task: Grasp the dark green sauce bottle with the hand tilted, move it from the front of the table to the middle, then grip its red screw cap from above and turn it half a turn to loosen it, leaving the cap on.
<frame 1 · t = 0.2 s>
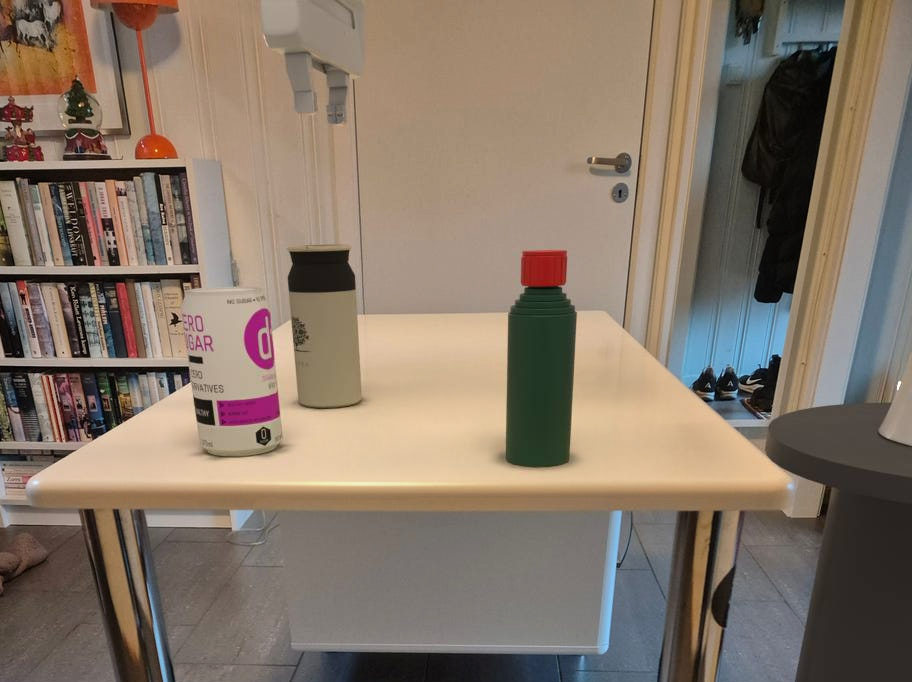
hand: (323, 119, 86), 30 cm above the table, tool pointing down, fingers open, 8 cm apart
cap: (544, 254, 73), point 18 cm above the table, screwed on, not yet turned
travel mug: (330, 404, 108), on the table
bottle: (537, 458, 81), on the table
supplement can: (242, 450, 87), on the table
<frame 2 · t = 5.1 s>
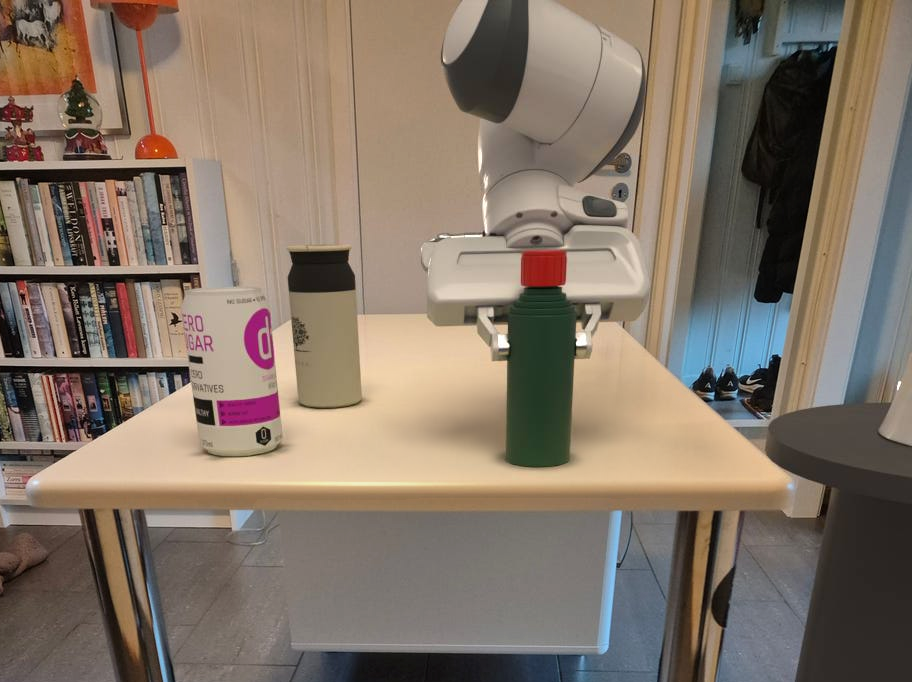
hand: (542, 356, 76), 9 cm above the table, tool tilted 45°, fingers closed on bottle, 6 cm apart
bottle: (537, 458, 81), on the table, touching gripper
everything else where it was.
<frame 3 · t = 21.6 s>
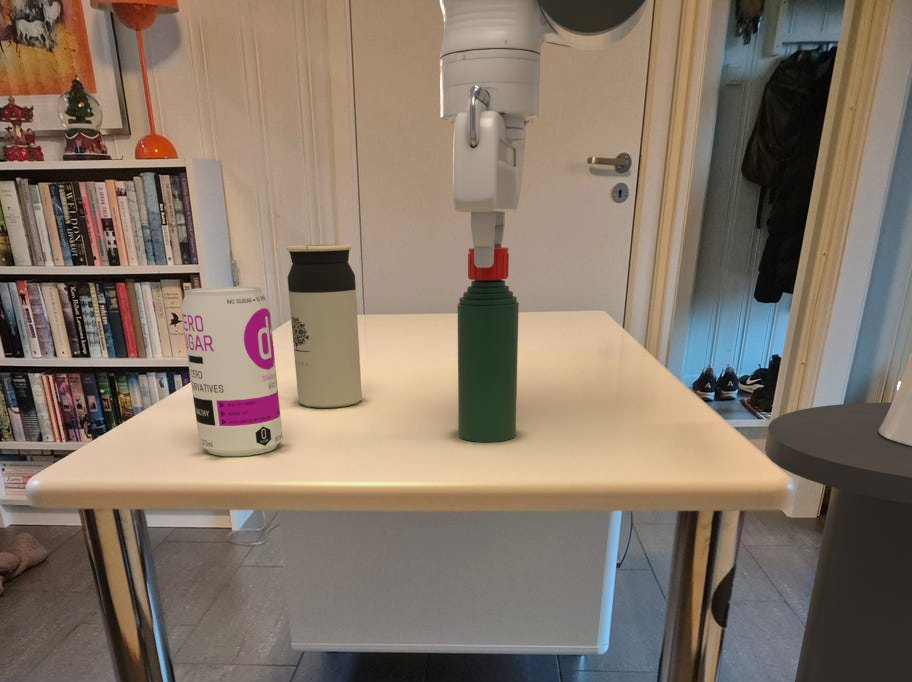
hand: (488, 266, 82), 16 cm above the table, tool pointing down, fingers closed on cap, 4 cm apart
cap: (488, 251, 82), point 18 cm above the table, screwed on, not yet turned, touching gripper
bottle: (487, 435, 90), on the table
everything else where it was.
when the fingers open (15 cm above the table, at t = 28.5 s): cap stays where it is, point 18 cm above the table.
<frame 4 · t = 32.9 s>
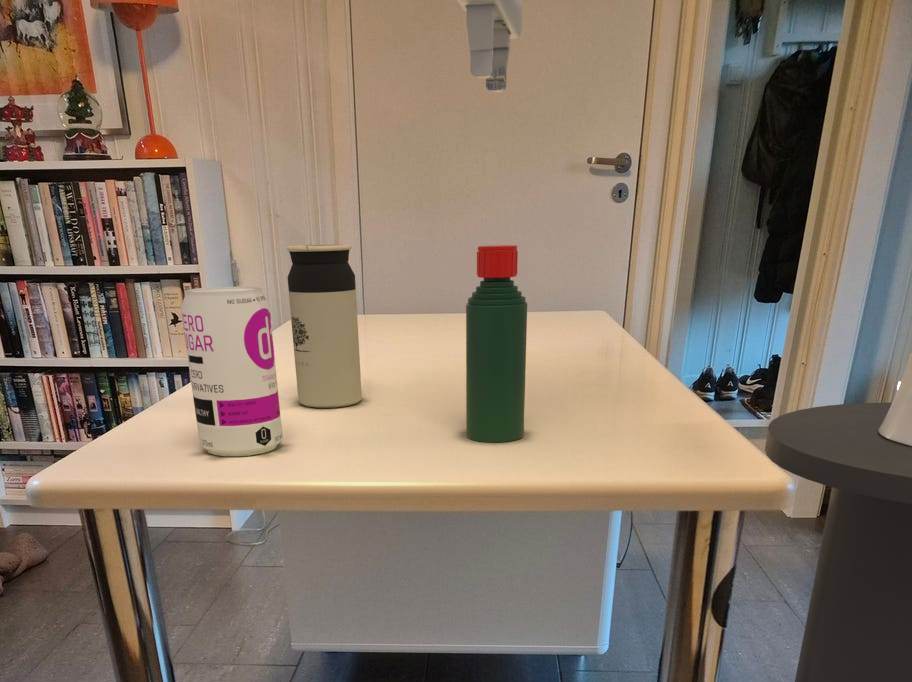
hand: (489, 84, 76), 31 cm above the table, tool pointing down, fingers open, 8 cm apart
cap: (497, 249, 81), point 18 cm above the table, turned 180° so far, risen 0.2 cm, still on its thread
everything else where it was.
at the end: cap turned 0.50 turns (still on its thread); cap is still on its thread (0.50 turns); bottle 27.9 cm from the travel mug (horizontally) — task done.
